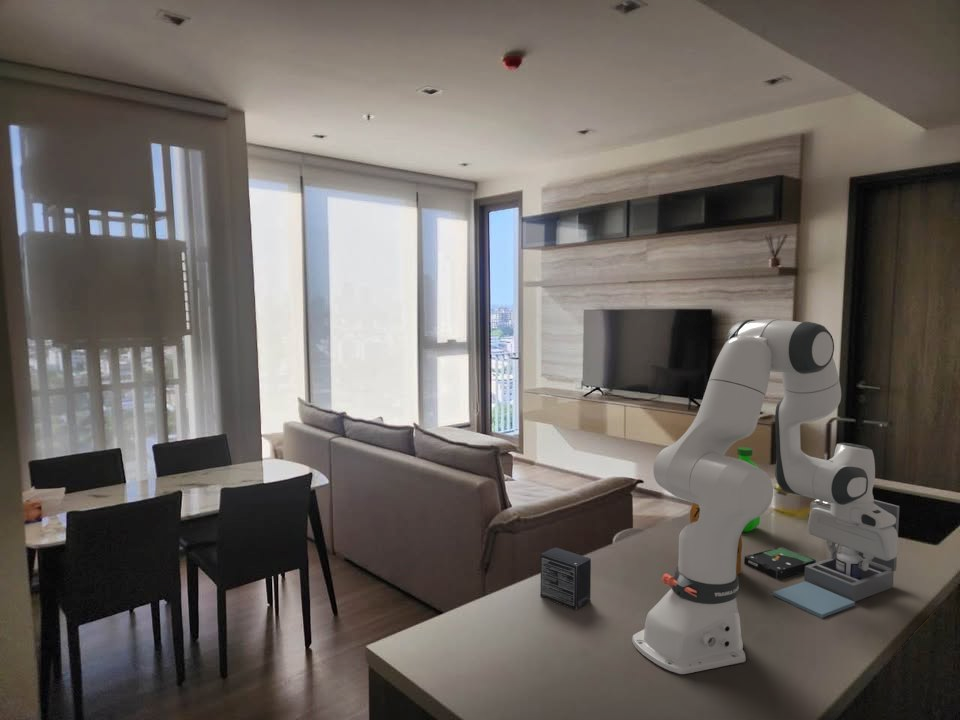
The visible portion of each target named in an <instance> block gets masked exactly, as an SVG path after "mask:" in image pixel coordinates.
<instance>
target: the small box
mask: <svg viewBox="0 0 960 720" xmlns="http://www.w3.org/2000/svg"><path fill="white" fill-rule="evenodd" d="M539 556H540V597H541V598H543V599H546V598H547V600H549V601H552V602H554V601H555V602H554V603H557V602H558V603H557V604H559V603H560V604H559V605H562V606H564V605H565V607H567V606H568V607H567V608H569V607H570V609H572V608H573V609H572V610H574V609H575V610H574V611H577V610H580V608H582V607H583V606H585V605H586V604H588V603H590V602H591V585H592V583H591V575H592V574H591V573H592V571H591V569H592V568H591V566H592V558H591V557H587V556H584V555H582V554H579V553H574V552H571V551H568V550H565V549H562V548H559V547H553V548H552V547H551V549H548V550H546V551H544V552H542V553H540V555H539Z"/></svg>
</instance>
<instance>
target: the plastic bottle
mask: <svg viewBox="0 0 960 720" xmlns="http://www.w3.org/2000/svg"><path fill="white" fill-rule="evenodd" d="M736 454H737V455H738V459H740V460H744V461H746V462H748V463H750V464H752V465H754V466H756V467H758V468H760V467H759V466H758V465H757V464H756V463H755V462H753V461H752V460H751V457H752V456H753V448H751V447H745V446H741V447H740V446H739V447H737V453H736ZM760 521H761V516H759V517H757V518H755V519H753V520H751V521H750V522H749V523H748V524H747V525H746V526H745V528H744V529H743V531H742V533H743V532H744V533H745V532H746V533H748V532H751V531H753V530H754V529H756V528H757V527H758V526H759V525H760Z"/></svg>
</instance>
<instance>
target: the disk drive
mask: <svg viewBox="0 0 960 720" xmlns="http://www.w3.org/2000/svg"><path fill="white" fill-rule="evenodd" d="M743 559H744V560H743V562H744V563H743V564H744V565H745V566H747V567H749V568H751V567H752V569H753V570H756V571H758V572H760V573H763V574H764V573H765V574H764V575H766V574H767V576H768V577H771V578H773V579H776V580H779V579H783V578H786V577H790V576H792V575H793V576H794V575H796V574H800V573H805V566H807V565H810V564H814V563H817V561H816V559H814V558H812V557H809V556H806V555H803V554H802V553H799V552H795V551H793V550H789V549H787V548H786V547H775V548H773V549H772V548H771V549H769V550H768V549H767V550H764V551H760V552H756V553H752V554H747V555H745V556H744V558H743Z"/></svg>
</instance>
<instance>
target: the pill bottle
mask: <svg viewBox="0 0 960 720" xmlns="http://www.w3.org/2000/svg"><path fill="white" fill-rule="evenodd" d="M838 552H839V553H837V557H836V571H837V572H840V573H842V574H845V575H847V576H850V577H853V578H855V579H858V580H861V578H862V570H860V569H858V566H859V565H858V562H861V561H862V558H861V556H859V555H858V554H859V551H856V550H854V549H851V548H848V547H845V546H842V545H839V551H838Z"/></svg>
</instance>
